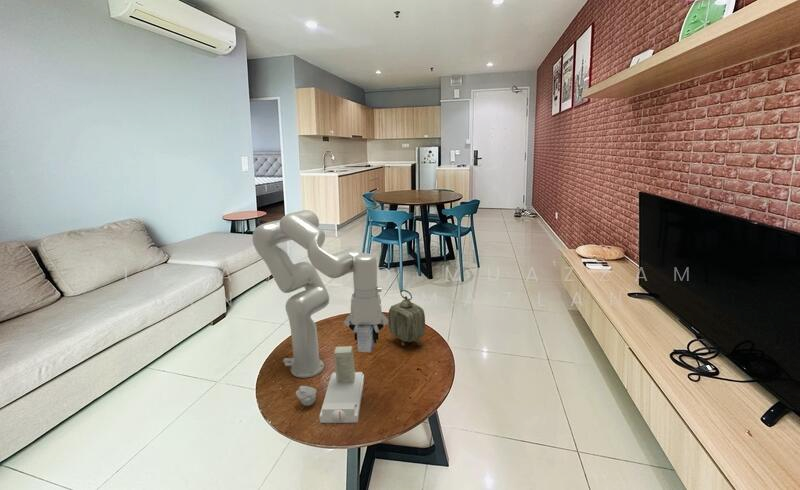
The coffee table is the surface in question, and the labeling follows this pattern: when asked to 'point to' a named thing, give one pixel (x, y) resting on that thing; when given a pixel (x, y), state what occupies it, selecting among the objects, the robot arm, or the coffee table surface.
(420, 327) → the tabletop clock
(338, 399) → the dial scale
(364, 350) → the medicine box
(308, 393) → the grey lumpy chunk
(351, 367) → the skincare box
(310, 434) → the coffee table surface
